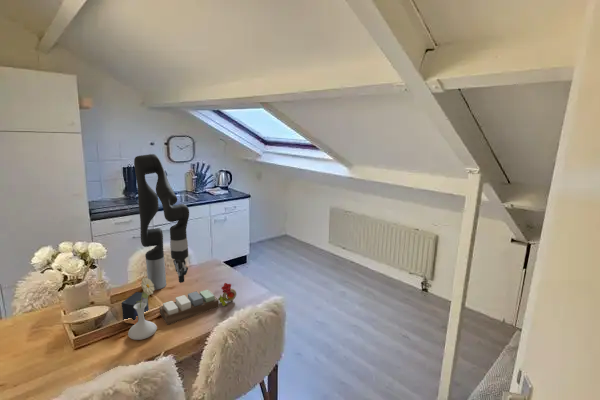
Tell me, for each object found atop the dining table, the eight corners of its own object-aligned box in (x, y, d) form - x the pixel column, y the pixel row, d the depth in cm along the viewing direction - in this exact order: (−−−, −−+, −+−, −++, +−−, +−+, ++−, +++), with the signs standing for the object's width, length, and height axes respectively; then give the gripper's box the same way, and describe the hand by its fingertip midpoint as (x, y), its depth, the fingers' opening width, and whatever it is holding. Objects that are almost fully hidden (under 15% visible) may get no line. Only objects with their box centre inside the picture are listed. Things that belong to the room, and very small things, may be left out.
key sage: (199, 299, 170) (199, 291, 169) (208, 297, 173) (207, 289, 172) (206, 306, 164) (206, 298, 163) (214, 303, 167) (214, 295, 166)
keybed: (160, 314, 160) (159, 306, 159) (209, 298, 175) (209, 291, 174) (167, 325, 152) (166, 317, 151) (218, 307, 167) (218, 299, 166)
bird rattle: (229, 302, 176) (213, 300, 170) (236, 282, 176) (221, 280, 170) (234, 307, 171) (218, 306, 165) (241, 287, 171) (226, 285, 165)
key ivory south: (163, 311, 159) (162, 303, 158) (172, 308, 162) (172, 300, 161) (169, 319, 153) (168, 310, 152) (178, 316, 156) (178, 307, 155)
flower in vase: (143, 345, 138) (137, 290, 132) (122, 338, 142) (115, 284, 136) (165, 327, 150) (161, 276, 144) (145, 322, 154) (140, 271, 148)
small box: (135, 325, 151) (133, 304, 149) (122, 323, 152) (120, 302, 150) (150, 312, 161) (148, 293, 159) (138, 311, 162) (136, 291, 160)
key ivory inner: (176, 306, 163) (175, 297, 162) (185, 303, 165) (184, 294, 164) (182, 313, 157) (181, 304, 156) (191, 310, 159) (190, 301, 158)
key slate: (188, 302, 166) (187, 293, 165) (196, 299, 169) (196, 291, 168) (194, 309, 160) (194, 300, 159) (203, 306, 163) (202, 297, 162)
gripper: (166, 245, 157) (168, 279, 161) (176, 253, 147) (178, 289, 151) (182, 241, 161) (184, 274, 165) (192, 250, 151) (194, 285, 155)
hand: (181, 281), depth 158 cm, fingers closed
